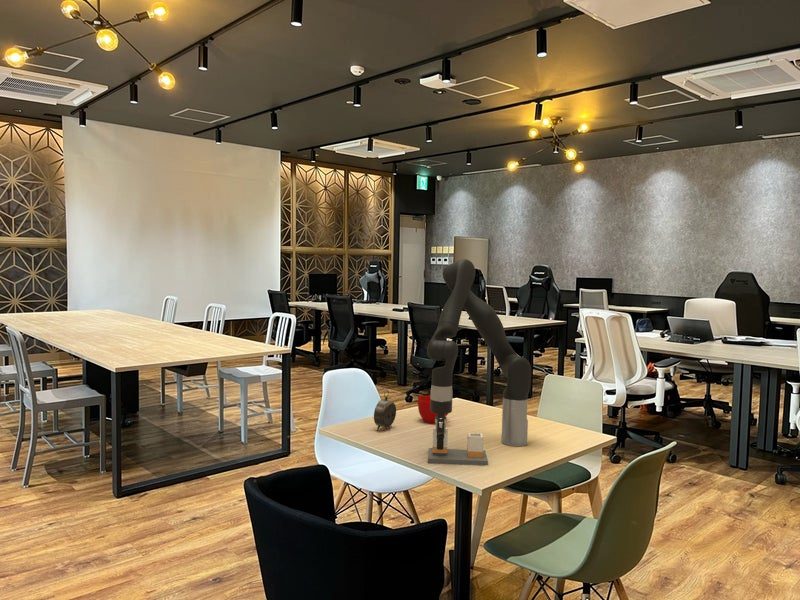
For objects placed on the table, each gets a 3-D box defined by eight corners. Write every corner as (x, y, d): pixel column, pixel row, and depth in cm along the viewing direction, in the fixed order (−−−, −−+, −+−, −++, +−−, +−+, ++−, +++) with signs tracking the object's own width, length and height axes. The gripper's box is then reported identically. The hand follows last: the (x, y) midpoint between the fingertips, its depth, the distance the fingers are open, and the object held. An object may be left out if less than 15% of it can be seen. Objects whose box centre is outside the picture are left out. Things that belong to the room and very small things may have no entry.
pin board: (485, 454, 208) (485, 430, 208) (487, 465, 196) (488, 440, 196) (428, 452, 209) (429, 428, 209) (427, 462, 197) (428, 437, 197)
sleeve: (432, 448, 206) (433, 428, 205) (446, 448, 205) (447, 429, 205) (432, 452, 201) (432, 432, 200) (447, 453, 200) (447, 432, 200)
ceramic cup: (436, 429, 240) (436, 405, 240) (411, 420, 254) (411, 397, 254) (459, 425, 248) (460, 401, 248) (434, 416, 262) (434, 394, 261)
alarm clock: (387, 425, 244) (387, 386, 244) (398, 427, 242) (399, 388, 241) (372, 431, 235) (373, 391, 234) (383, 433, 232) (384, 392, 232)
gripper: (430, 393, 210) (429, 440, 210) (430, 402, 195) (428, 452, 196) (451, 394, 209) (450, 441, 210) (452, 403, 195) (451, 453, 196)
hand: (440, 446), depth 203 cm, fingers closed on sleeve, 5 cm apart
